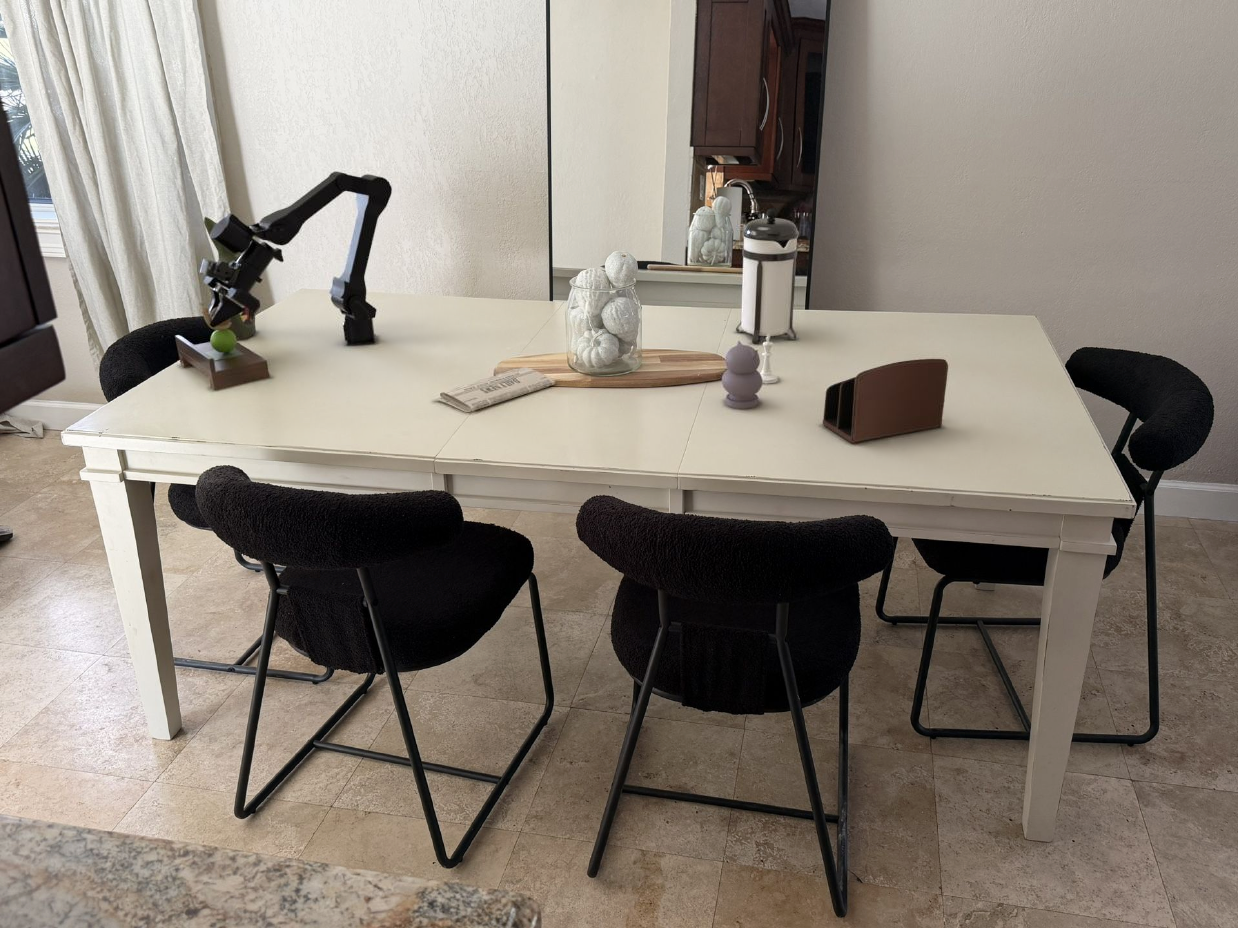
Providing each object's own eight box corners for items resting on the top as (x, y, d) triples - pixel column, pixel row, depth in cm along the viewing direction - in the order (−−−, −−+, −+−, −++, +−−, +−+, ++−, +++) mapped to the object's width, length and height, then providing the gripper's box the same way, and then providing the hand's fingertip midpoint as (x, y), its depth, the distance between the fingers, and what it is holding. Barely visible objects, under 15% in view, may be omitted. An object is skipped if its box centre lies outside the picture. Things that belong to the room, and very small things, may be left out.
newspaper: (517, 372, 221) (517, 361, 220) (554, 391, 213) (555, 380, 212) (431, 398, 206) (431, 387, 205) (467, 419, 199) (467, 408, 198)
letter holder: (942, 427, 189) (951, 355, 183) (851, 444, 182) (858, 370, 176) (909, 409, 197) (917, 340, 191) (821, 425, 190) (827, 354, 185)
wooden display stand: (233, 354, 236) (228, 325, 233) (269, 377, 220) (264, 347, 217) (180, 365, 229) (174, 335, 226) (214, 390, 214) (208, 359, 211)
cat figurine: (713, 399, 204) (715, 342, 199) (747, 393, 207) (749, 336, 202) (734, 413, 197) (736, 354, 192) (769, 406, 200) (772, 348, 195)
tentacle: (210, 342, 245) (186, 217, 232) (233, 327, 256) (212, 207, 243) (246, 343, 244) (224, 217, 231) (267, 328, 255) (248, 207, 242)
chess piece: (780, 377, 215) (783, 332, 211) (773, 385, 211) (776, 339, 207) (758, 374, 217) (760, 329, 213) (751, 381, 213) (753, 336, 209)
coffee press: (808, 331, 245) (817, 205, 233) (781, 348, 233) (788, 217, 220) (744, 320, 254) (748, 199, 241) (714, 337, 241) (717, 210, 229)
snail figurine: (203, 353, 223) (194, 300, 218) (231, 347, 227) (222, 295, 222) (215, 359, 220) (205, 305, 215) (243, 352, 224) (234, 299, 219)
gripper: (204, 237, 222) (163, 296, 220) (235, 251, 209) (192, 313, 207) (246, 267, 230) (206, 323, 228) (278, 282, 217) (236, 342, 215)
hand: (209, 325), depth 219 cm, fingers closed
